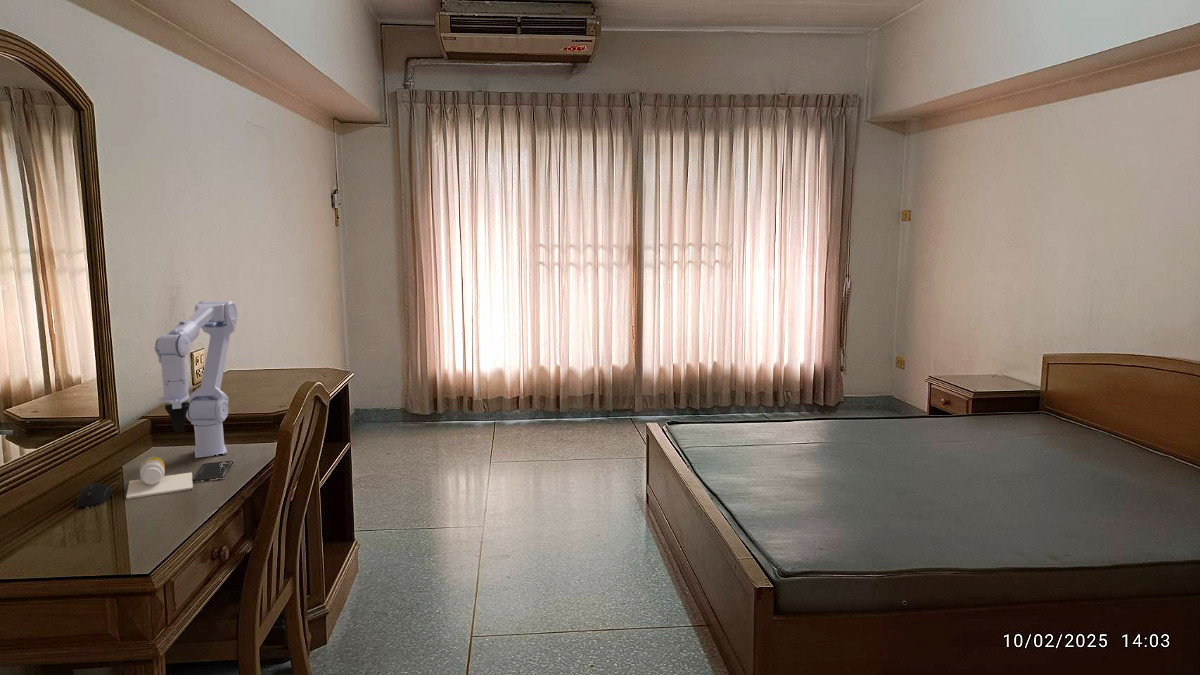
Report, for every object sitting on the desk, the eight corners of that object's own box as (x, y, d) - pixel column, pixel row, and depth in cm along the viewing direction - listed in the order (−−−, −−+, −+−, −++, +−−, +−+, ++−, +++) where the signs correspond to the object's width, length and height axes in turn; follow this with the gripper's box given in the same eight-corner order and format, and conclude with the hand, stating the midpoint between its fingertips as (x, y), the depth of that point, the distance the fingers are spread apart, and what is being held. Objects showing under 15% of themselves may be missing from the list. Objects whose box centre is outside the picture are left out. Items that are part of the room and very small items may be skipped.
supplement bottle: (160, 479, 204) (159, 489, 196) (137, 473, 202) (135, 484, 193) (168, 459, 205) (168, 469, 196) (145, 453, 202) (144, 463, 194)
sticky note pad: (129, 482, 200) (129, 480, 200) (192, 474, 207) (191, 472, 207) (126, 499, 188) (126, 497, 188) (192, 489, 194) (192, 487, 194)
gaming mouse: (68, 515, 179) (66, 498, 178) (85, 495, 193) (83, 479, 192) (100, 511, 181) (98, 494, 180) (115, 492, 195) (113, 476, 194)
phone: (234, 460, 216) (225, 476, 202) (234, 464, 216) (225, 480, 202) (202, 463, 214) (190, 479, 200) (202, 467, 214) (191, 484, 200)
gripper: (158, 377, 213) (162, 427, 214) (156, 385, 200) (161, 438, 202) (187, 375, 216) (191, 424, 218) (188, 383, 203) (192, 435, 205)
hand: (179, 431), depth 210 cm, fingers closed
